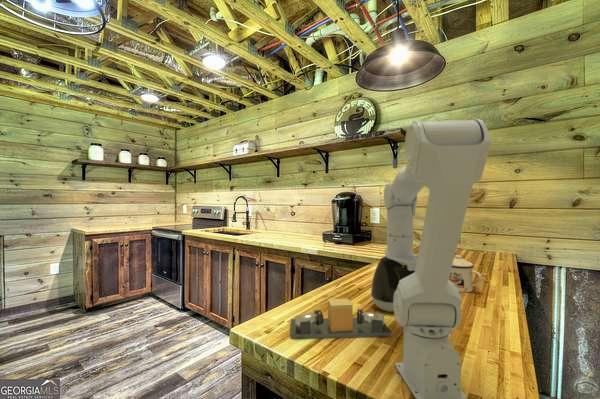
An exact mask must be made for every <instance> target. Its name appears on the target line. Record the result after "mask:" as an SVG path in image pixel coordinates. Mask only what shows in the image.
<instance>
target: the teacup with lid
mask: <svg viewBox="0 0 600 399" xmlns="http://www.w3.org/2000/svg"><path fill="white" fill-rule="evenodd" d="M474 274H475V275H477V276H478V281H477V282H476V283H474V280H473V279H474V278H473V277H474ZM449 280H450V281H451V282H452V283H453V284H454V285H455V286H456V288H457V289H458V291H459V293H471V292H473V291H474V286H476V287H477V286H479V285H480V284H481V283H482V281H483V276H482V274H481V273H480V272H479V271H477V270H474V264H473V263H472V262H470V261H469V260H466V259H464V258H462V255H460V254H455V257H454V260H453V264H452V268H451V272H450V276H449Z"/></svg>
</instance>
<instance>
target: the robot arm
mask: <svg viewBox="0 0 600 399" xmlns="http://www.w3.org/2000/svg"><path fill="white" fill-rule="evenodd" d="M491 144H492V140H491V136H490V133H489V130H488V127H487V126H486V123H485V122H484V120H482V119H481V118H473V119H471V120H468V119H467V120H464V119H463V120H438V121H437V120H433V121H432V120H431V121H428V120H427V121H421V120H413V121H412V122H411V124H409V126H408V127H407V130H406V133H405V139H404V154H405V157H406V159H407V164H406V166H403V167H402V168H400V169H399V170H398V171H397V174H396V175H395V177H394V179H393V181H392V183H386V184H385V187H384V191H383V202H384V207H385V209H386V248H385V250H384V257H385V256H386V257H387V258H386V259H382V258H380V260H381V262H382V264H383V266H384V269H385V272H386V275H387V280H388V284H389V288H390V289H397V290H396V291H395V293H394V297H393V307H394V312H393V313H394V317H395V321H396V322H397V324H398V325H399V326H400V327H402V328H403V329H402V330H403V344H402V345H403V350H402V352H403V362H395V364H394V365H395V368H396V370H397V371H398V373H399V374H400V376H401V377H402V379H403V381H404V382H405V384H406V385H407V387H408V389H409V391H410V392H411V393H412V395H413V396H414V398H415V399H467V395H466V394H465V392H463V391H462V362H461V357H460V354H458V352H457V350H456V349H455V348H454V347H453V345H452V342H451V340H450V336H451V335H454V332H453V331H454V329H457V328H458V327H459V325H460V323H461V320H462V302H463V298H462V296H461V294H460V293H461V292H459V291H458V289H457V288H456V286H455V285H454V284H453V283H452V282H451V281H450V280H449V276H450V272H451V268H452V264H453V260H454V258H455V255H456V253H457V248H458V244H459V241H460V237H461V234H462V233H461V232H462V229H463V226H464V222H465V217H466V214H467V209H468V207H469V203H470V198H471V194H472V191H473V186H474V185H475V184H477V183H478V182H480V181H482V177H483V175H484V171H485V168H486V163H487V159H488V156H489V152H490V148H491V146H492V145H491ZM424 187H427V188H428V190H429V194H428V200H427V204H426V208H425V209H426V210H425V214H424V215H425V216H424V221H423V227H422V230H421V231H422V232H421V237H420V242H419V247H418V254H417V253H414V217H415V216H416V207H417V203H418V202H417V201H418V194H420V192H421V191H422V190H423V189H424Z"/></svg>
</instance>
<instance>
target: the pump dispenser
mask: <svg viewBox="0 0 600 399" xmlns="http://www.w3.org/2000/svg"><path fill="white" fill-rule="evenodd" d="M386 258H387V257H386V256H385V255H384V256H382V258H381V259H386ZM381 259H380V260H379V262H378V263H377V265H376V268H375V271H374V273H373V277H372V280H371V281H372V282H371V287H370V288H371V289H370V290H371V291H370V295H371V297H372V300H373V303H374V304H375V306H376V307H377V308H379V309H380V310H382V311H383V312H388V313H394V307H393V297H394V293H395V291H396V290H397V289H390V288H389V284H388V280H387V275H386V272H385V269H384V266H383V264H382V262H381Z"/></svg>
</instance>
